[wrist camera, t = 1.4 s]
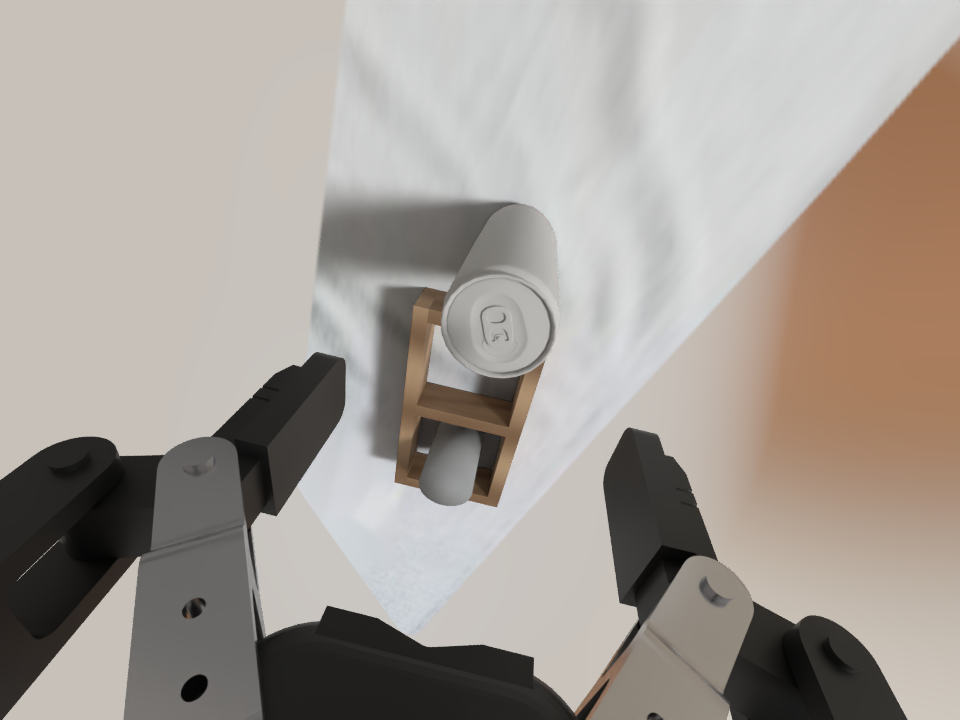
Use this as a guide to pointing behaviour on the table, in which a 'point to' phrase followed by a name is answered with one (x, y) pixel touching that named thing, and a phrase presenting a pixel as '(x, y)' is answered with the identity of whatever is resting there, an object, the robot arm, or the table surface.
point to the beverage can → (505, 296)
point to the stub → (451, 464)
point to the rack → (456, 408)
